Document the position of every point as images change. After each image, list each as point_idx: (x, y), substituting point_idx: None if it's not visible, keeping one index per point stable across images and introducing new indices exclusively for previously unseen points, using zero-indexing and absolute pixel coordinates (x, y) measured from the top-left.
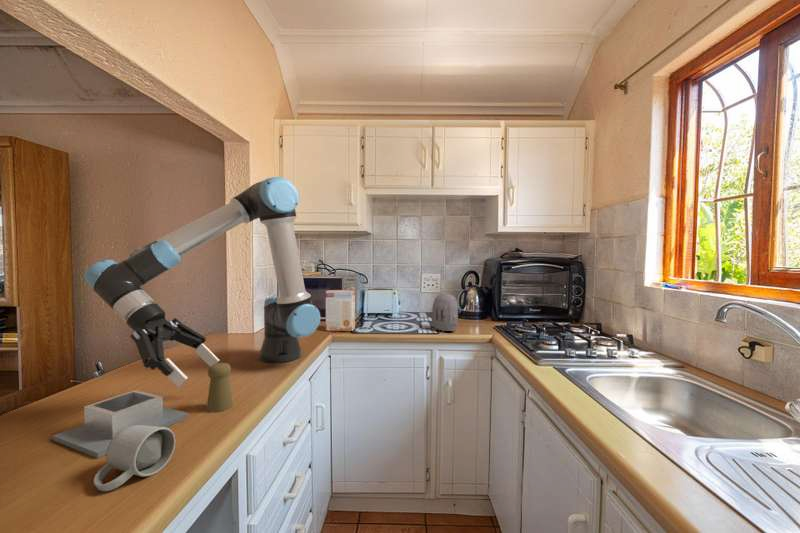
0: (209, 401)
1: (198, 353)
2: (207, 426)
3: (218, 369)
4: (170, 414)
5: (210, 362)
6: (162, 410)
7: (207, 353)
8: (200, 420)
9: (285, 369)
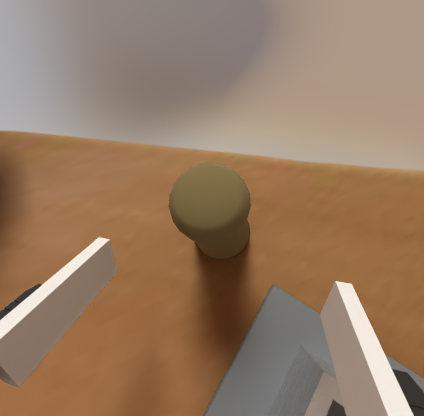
0: (242, 243)
1: (45, 349)
2: (320, 221)
3: (244, 187)
4: (280, 331)
5: (102, 274)
6: (307, 352)
7: (66, 291)
8: (290, 248)
9: (24, 152)
